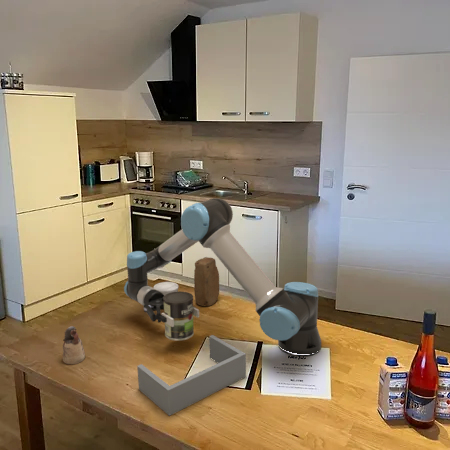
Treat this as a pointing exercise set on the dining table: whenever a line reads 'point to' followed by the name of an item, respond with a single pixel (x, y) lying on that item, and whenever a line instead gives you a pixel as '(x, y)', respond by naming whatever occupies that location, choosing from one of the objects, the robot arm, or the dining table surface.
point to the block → (206, 281)
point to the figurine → (72, 347)
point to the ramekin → (166, 287)
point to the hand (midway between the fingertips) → (186, 318)
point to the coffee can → (179, 315)
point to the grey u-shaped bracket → (195, 379)
